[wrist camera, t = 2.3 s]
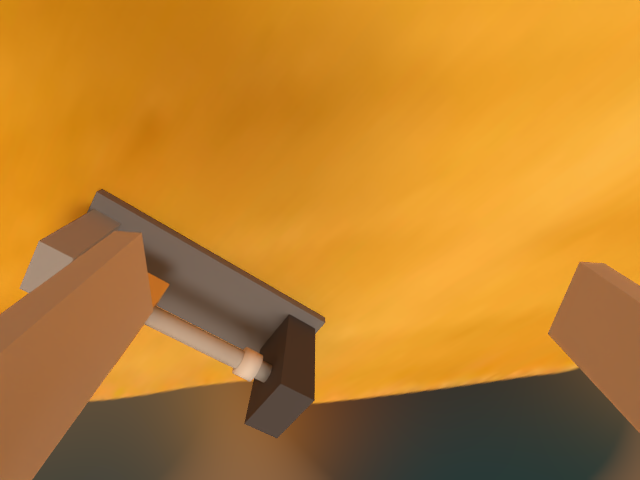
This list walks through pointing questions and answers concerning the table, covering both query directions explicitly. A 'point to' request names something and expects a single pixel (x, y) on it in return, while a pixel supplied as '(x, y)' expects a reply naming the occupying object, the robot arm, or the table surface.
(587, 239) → the table surface
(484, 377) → the table surface
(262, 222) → the table surface
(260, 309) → the rail
